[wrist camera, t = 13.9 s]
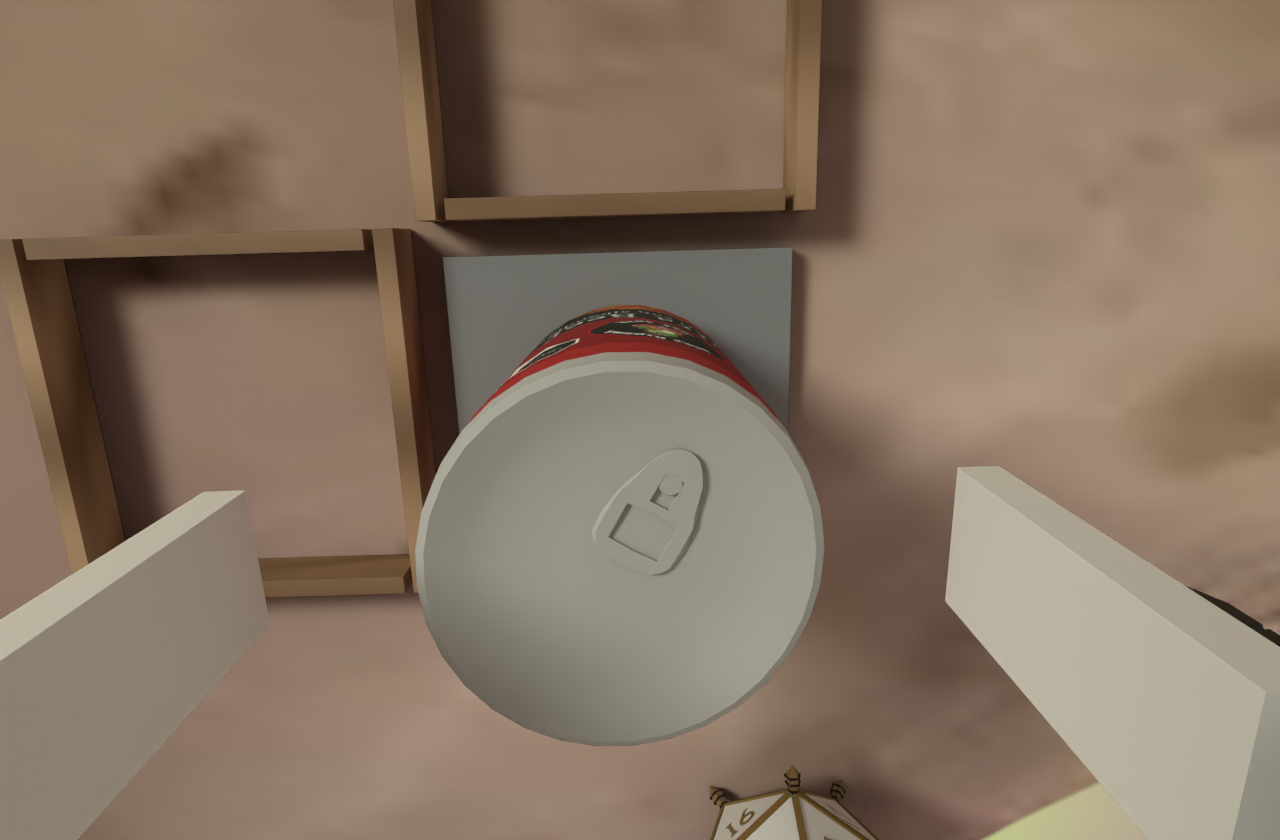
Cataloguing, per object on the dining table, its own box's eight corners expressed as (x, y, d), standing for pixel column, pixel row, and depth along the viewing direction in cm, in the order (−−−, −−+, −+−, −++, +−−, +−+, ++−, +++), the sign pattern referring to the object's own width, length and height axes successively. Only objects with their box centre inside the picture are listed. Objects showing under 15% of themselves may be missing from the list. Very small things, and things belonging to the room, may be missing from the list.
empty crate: (390, -217, 20) (366, -262, 18) (813, -229, 20) (830, -273, 18) (432, 222, 23) (415, 220, 21) (801, 211, 23) (815, 209, 21)
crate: (40, 239, 23) (-9, 240, 21) (410, 229, 23) (392, 228, 21) (116, 578, 26) (78, 603, 24) (445, 568, 26) (431, 592, 24)
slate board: (447, 256, 23) (442, 257, 23) (788, 247, 23) (792, 247, 23) (476, 569, 26) (472, 577, 25) (781, 560, 26) (784, 568, 25)
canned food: (768, 331, 23) (885, 410, 13) (705, 553, 25) (760, 786, 14) (535, 275, 23) (451, 308, 12) (489, 506, 25) (380, 711, 14)
